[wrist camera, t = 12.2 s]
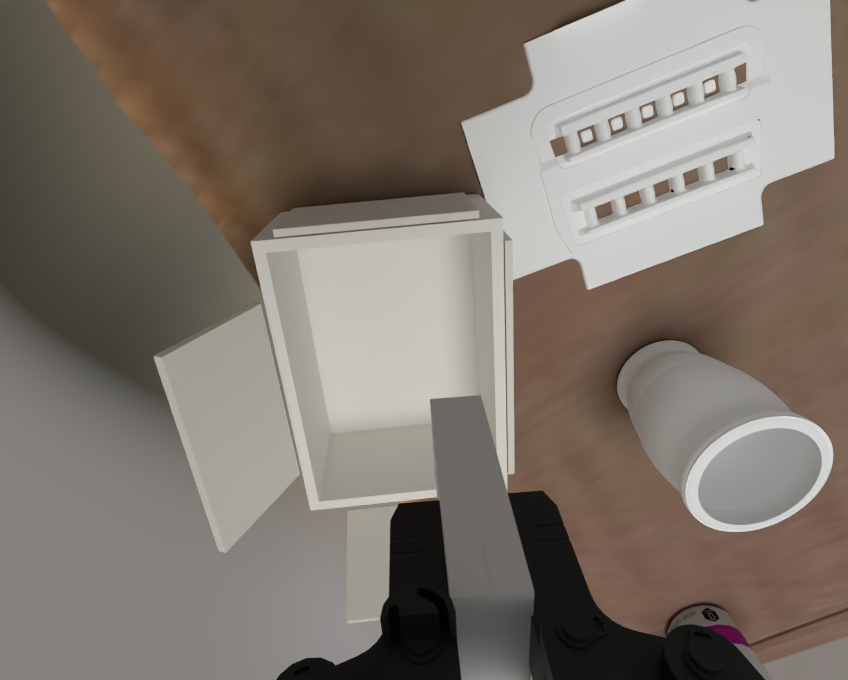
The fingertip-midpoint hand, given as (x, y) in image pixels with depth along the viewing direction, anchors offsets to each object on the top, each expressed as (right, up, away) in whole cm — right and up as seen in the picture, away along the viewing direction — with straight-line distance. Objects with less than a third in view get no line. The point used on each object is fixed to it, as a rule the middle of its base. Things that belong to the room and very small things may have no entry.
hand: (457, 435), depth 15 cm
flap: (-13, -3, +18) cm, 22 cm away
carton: (-4, +4, +31) cm, 31 cm away
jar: (+22, -1, +35) cm, 41 cm away
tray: (+17, +19, +26) cm, 37 cm away
